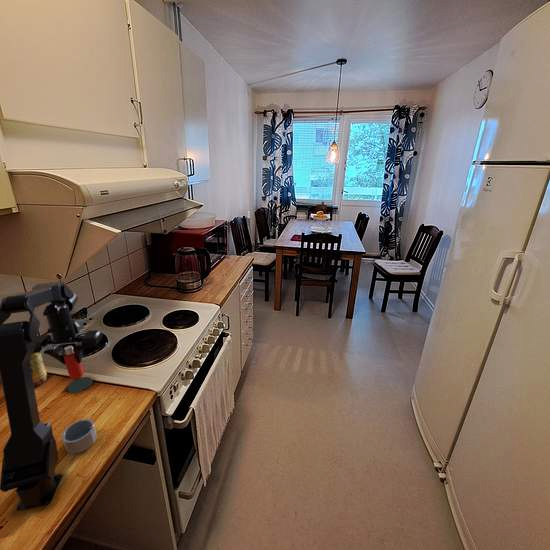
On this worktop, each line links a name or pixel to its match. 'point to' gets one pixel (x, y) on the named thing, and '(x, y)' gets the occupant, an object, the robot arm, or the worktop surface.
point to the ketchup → (72, 363)
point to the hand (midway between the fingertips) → (73, 363)
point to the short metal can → (79, 436)
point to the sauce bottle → (37, 369)
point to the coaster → (79, 384)
